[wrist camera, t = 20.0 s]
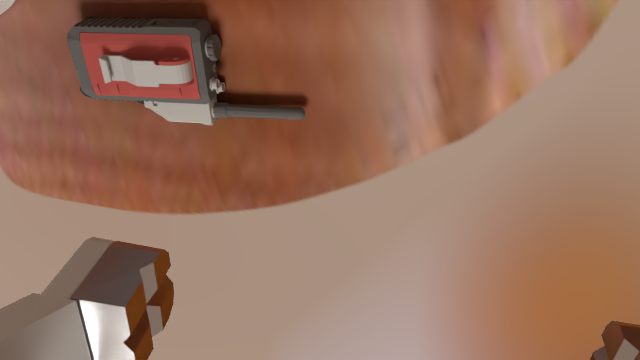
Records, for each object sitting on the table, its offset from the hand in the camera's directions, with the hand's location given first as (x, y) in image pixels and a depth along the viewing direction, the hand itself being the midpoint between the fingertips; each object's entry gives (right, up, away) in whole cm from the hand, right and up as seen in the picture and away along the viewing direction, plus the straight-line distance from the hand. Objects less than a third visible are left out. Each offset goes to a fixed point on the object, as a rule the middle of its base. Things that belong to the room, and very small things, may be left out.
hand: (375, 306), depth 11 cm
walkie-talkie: (-12, +12, +37) cm, 41 cm away
